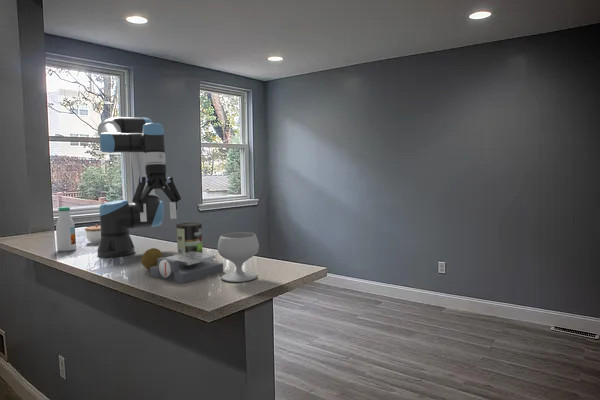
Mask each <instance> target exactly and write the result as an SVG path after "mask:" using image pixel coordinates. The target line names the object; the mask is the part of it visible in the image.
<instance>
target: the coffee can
mask: <svg viewBox="0 0 600 400" xmlns="http://www.w3.org/2000/svg"><path fill="white" fill-rule="evenodd" d="M202 225H203V224H202V222H201V223H200V222H183V223H178V224H176V226H175V227H176V239H177V240H176V241H177V246H176V247H177V255H178V254H183V253H187V252H191V251H193V252H199V253H204V252H203V232H202V230H203V227H202Z"/></svg>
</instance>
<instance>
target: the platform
mask: <svg viewBox="0 0 600 400" xmlns="http://www.w3.org/2000/svg"><path fill="white" fill-rule="evenodd" d="M164 258H169V259H174V260H178V261H179V264H183V265H191V264H195V263H199V262H202V261H206V260H210V259H212V260H214V259H216V258H217V255H216V254H210V253H206V252H205V253H204V252H203V253H199V252H193V251H191V252H187V253H183V254H178V253H177V254H174V255H170V256H167V257H164Z"/></svg>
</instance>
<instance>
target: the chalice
mask: <svg viewBox="0 0 600 400" xmlns="http://www.w3.org/2000/svg"><path fill="white" fill-rule="evenodd" d="M259 250H260V244H259V239H258V237H257V235H256V233H254V232H250V231H235V232H226V233H223V234H221V235H220V237H219V239H218V243H217V252H218V254H219V256H220V257H222V258H223V259H226V260H228V261H230V263H231V262H232V263H233V264H234V266H235V268H236V269H235V271H234V272H230V273H229V272H228V273H226V274H224V275H222V276H221V277H220V279H221V280H222V281H225V282H229V283H241V282H242V283H243V282H249V281H252V280H255V279H256V278H258V275H257V274H256V273H254V272H250V271H243V269H242V268H243V265H244V263H245V262H247V261H248V260H250V259H251V258H252V257H255V255H257V253H258V252H259Z"/></svg>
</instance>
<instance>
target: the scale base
mask: <svg viewBox="0 0 600 400" xmlns="http://www.w3.org/2000/svg"><path fill="white" fill-rule="evenodd" d="M222 272H224V263H223V262H216V261H213V260H212V261H207V260H206V261H202V262H199V263H195V264H191V265H183V264H179V261H178V260H174V259H169V258H165V257H161V258H157V266H153V267H150V270H149V276H151V277H155V278H159V279H162V280H163V279H164V280H167V281H172V282H175V283H180V284H186V283H189V282H190V283H191V282H193V281H196V280H199V279H202V278H203V279H204V278H207V277H210V276H213V275H217V274H220V273H222Z"/></svg>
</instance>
